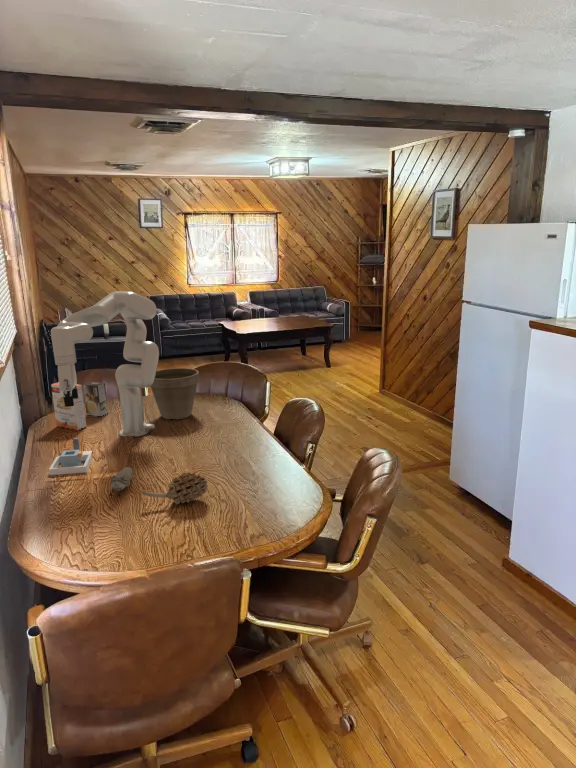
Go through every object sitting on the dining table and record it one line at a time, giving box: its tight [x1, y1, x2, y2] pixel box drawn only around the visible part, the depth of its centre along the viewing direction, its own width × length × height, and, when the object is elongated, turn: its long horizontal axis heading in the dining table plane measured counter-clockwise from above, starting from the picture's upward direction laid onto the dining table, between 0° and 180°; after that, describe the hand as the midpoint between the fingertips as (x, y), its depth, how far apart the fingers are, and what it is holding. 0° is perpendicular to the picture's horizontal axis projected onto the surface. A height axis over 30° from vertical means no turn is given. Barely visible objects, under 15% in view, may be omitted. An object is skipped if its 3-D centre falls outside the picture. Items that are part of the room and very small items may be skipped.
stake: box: [72, 437, 93, 454], centre depth 224 cm, size 10×9×8 cm
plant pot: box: [149, 367, 200, 420], centre depth 276 cm, size 25×25×22 cm
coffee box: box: [82, 381, 109, 417], centre depth 280 cm, size 9×6×16 cm
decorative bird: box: [108, 466, 134, 498], centre depth 196 cm, size 5×16×7 cm, turn 178°
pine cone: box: [139, 471, 209, 505], centre depth 184 cm, size 22×10×10 cm, turn 108°
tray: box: [48, 453, 93, 477], centre depth 214 cm, size 13×13×4 cm
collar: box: [59, 449, 83, 467], centre depth 213 cm, size 6×7×6 cm
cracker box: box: [50, 381, 87, 431], centre depth 261 cm, size 14×6×21 cm, turn 62°
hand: (71, 402), depth 217 cm, fingers open, 9 cm apart
